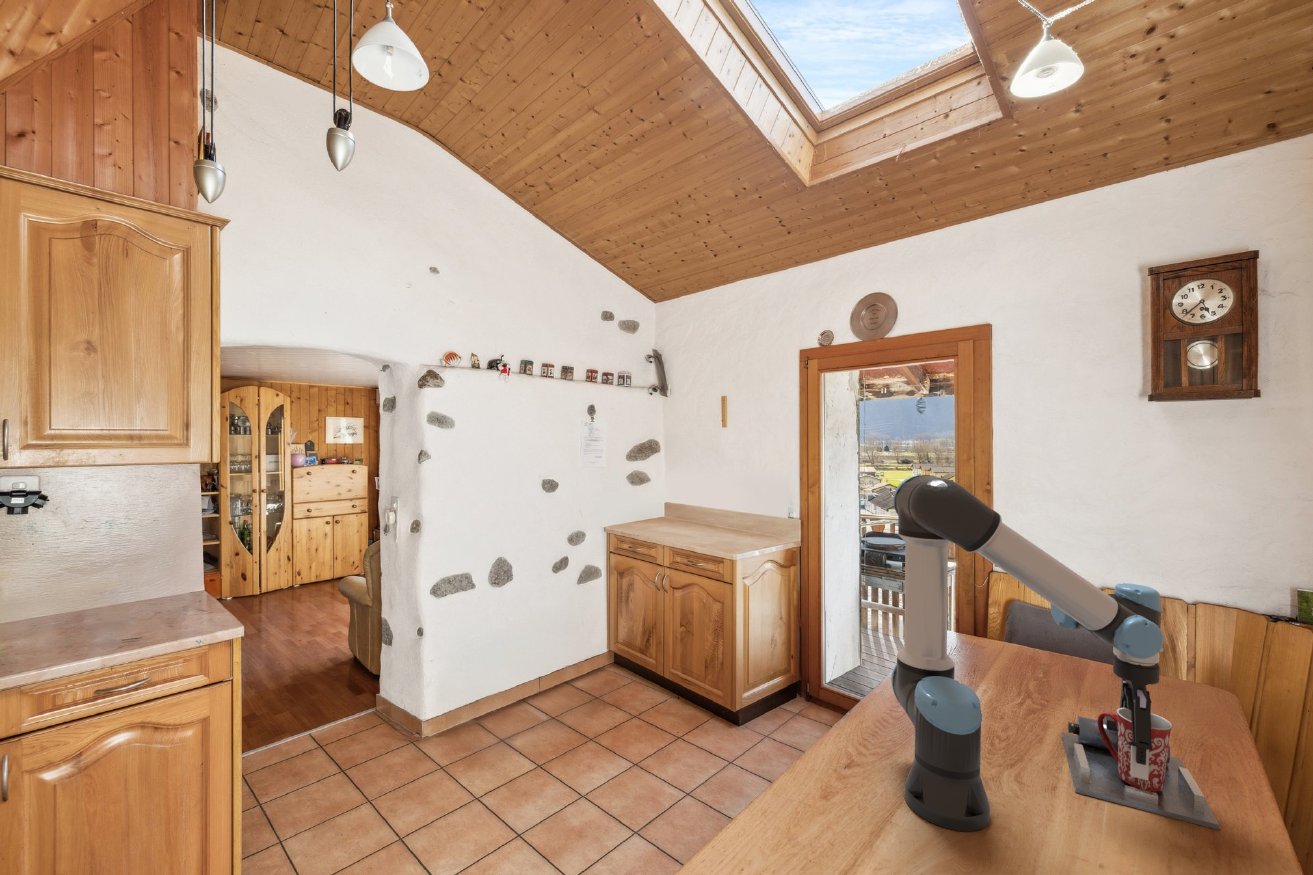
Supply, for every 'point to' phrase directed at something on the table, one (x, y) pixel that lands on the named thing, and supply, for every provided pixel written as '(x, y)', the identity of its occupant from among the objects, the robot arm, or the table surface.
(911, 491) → the robot arm
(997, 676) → the table surface
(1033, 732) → the table surface
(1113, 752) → the mug
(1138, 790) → the plate
